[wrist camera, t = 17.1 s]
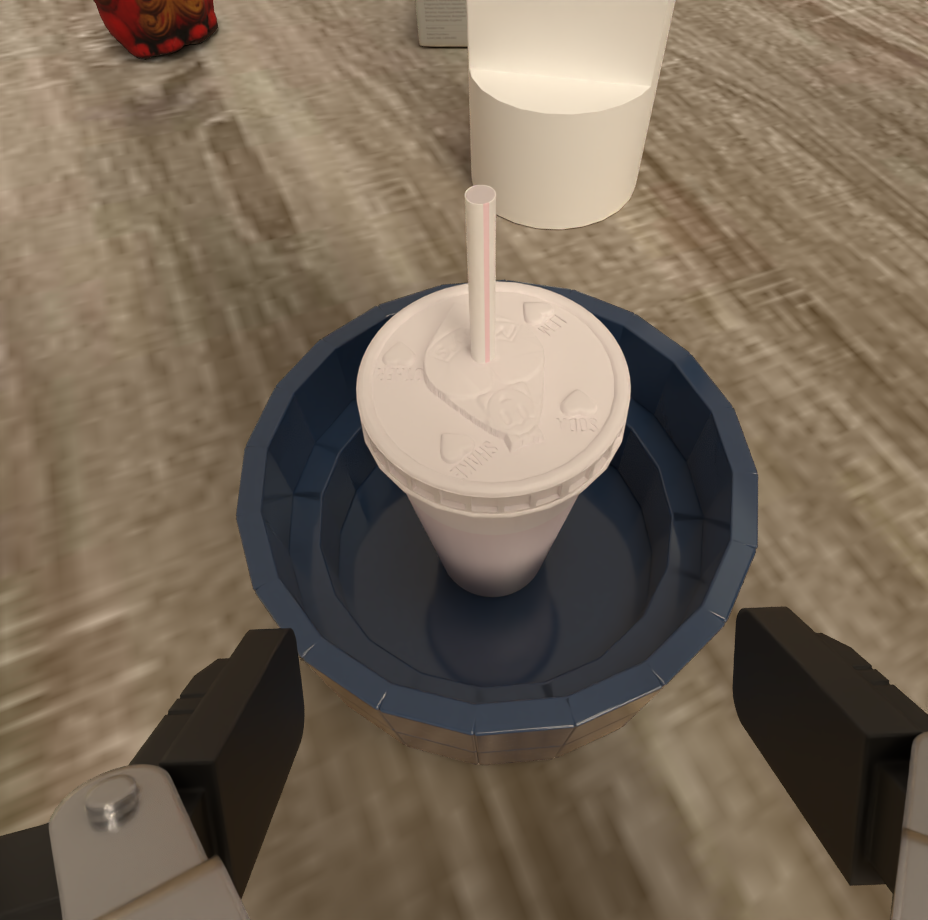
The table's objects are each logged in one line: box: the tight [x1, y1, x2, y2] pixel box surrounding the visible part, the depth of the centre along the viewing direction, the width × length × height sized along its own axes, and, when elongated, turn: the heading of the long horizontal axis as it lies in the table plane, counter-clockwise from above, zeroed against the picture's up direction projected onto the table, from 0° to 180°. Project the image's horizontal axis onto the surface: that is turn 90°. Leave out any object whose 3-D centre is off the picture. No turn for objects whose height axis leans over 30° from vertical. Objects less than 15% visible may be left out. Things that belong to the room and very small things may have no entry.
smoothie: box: [356, 185, 631, 597], centre depth 17 cm, size 6×6×14 cm
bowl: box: [236, 280, 758, 765], centre depth 21 cm, size 14×14×6 cm
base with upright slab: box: [466, 0, 676, 229], centre depth 30 cm, size 9×9×12 cm
